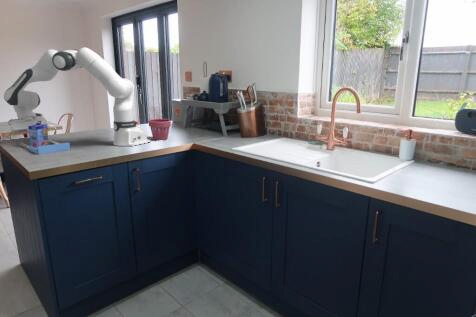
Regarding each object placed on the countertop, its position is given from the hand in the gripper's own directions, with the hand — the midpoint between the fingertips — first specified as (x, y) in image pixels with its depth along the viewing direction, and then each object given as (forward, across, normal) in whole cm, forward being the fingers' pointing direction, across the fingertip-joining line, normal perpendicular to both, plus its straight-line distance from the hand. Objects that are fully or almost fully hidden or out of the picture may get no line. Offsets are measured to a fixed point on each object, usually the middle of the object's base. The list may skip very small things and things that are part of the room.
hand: (34, 136), depth 198 cm
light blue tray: (+15, 0, -9) cm, 18 cm away
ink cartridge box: (+10, 0, -3) cm, 10 cm away
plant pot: (+32, +62, -26) cm, 74 cm away
